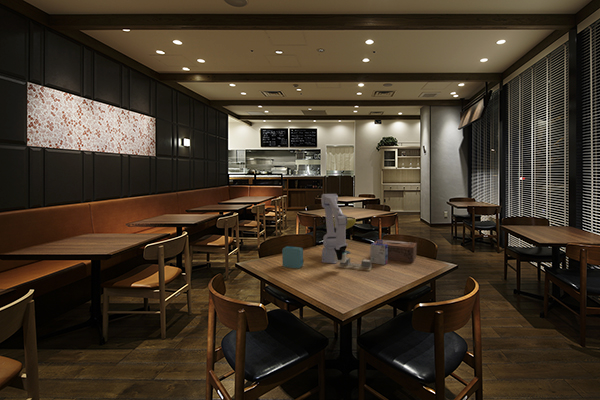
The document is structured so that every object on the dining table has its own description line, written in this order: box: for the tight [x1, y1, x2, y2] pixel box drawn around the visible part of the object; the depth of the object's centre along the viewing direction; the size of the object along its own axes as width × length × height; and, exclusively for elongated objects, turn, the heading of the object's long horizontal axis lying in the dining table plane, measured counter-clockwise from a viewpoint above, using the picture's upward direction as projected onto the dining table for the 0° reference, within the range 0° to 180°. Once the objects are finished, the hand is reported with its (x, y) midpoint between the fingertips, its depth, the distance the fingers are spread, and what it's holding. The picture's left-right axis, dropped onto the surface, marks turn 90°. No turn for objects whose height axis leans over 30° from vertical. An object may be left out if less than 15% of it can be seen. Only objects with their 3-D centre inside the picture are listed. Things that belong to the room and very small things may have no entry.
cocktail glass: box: [333, 216, 357, 255], centre depth 220 cm, size 18×18×25 cm
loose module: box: [335, 253, 348, 263], centre depth 180 cm, size 6×4×5 cm, turn 68°
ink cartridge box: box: [369, 239, 389, 266], centre depth 194 cm, size 10×6×14 cm, turn 56°
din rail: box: [338, 262, 373, 268], centre depth 186 cm, size 19×5×1 cm, turn 68°
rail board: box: [338, 264, 373, 272], centre depth 186 cm, size 19×9×1 cm, turn 68°
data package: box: [281, 245, 304, 270], centre depth 187 cm, size 12×4×12 cm, turn 69°
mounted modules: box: [339, 257, 372, 267], centre depth 186 cm, size 18×5×3 cm, turn 68°
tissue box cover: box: [374, 238, 418, 263], centre depth 207 cm, size 26×14×10 cm, turn 62°
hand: (340, 258), depth 180 cm, fingers closed on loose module, 4 cm apart
